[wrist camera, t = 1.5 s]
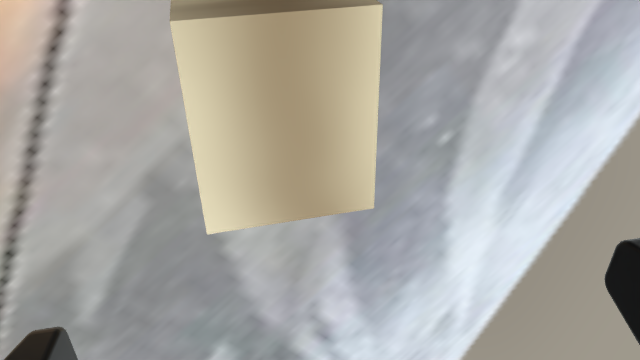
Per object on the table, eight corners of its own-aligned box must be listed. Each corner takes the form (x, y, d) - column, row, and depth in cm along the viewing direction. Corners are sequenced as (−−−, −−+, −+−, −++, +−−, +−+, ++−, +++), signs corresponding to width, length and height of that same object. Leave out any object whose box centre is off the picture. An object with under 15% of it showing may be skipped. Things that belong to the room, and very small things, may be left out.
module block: (199, 140, 19) (207, 234, 14) (172, -25, 16) (169, 21, 11) (325, 125, 20) (373, 208, 15) (323, -35, 17) (382, 4, 12)
